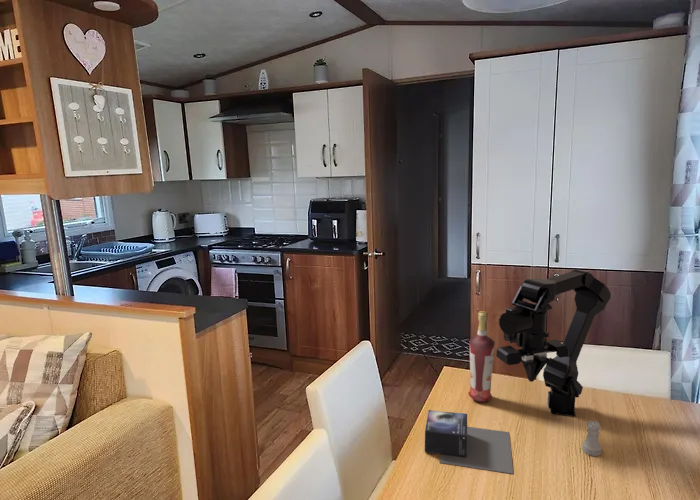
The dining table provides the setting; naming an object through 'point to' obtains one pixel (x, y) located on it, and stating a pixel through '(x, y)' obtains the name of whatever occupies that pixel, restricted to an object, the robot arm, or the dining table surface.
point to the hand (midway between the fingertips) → (530, 380)
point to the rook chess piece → (592, 439)
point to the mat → (484, 451)
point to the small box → (446, 433)
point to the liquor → (481, 361)
